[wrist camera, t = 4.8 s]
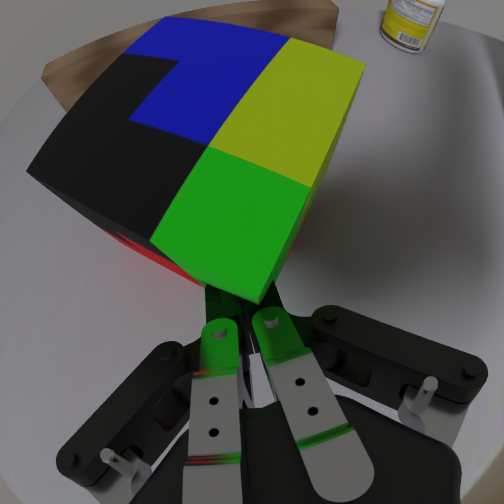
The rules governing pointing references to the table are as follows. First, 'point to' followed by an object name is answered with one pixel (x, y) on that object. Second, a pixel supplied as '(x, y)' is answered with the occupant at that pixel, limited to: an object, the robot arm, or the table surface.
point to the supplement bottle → (411, 23)
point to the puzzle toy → (204, 148)
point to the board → (243, 14)
